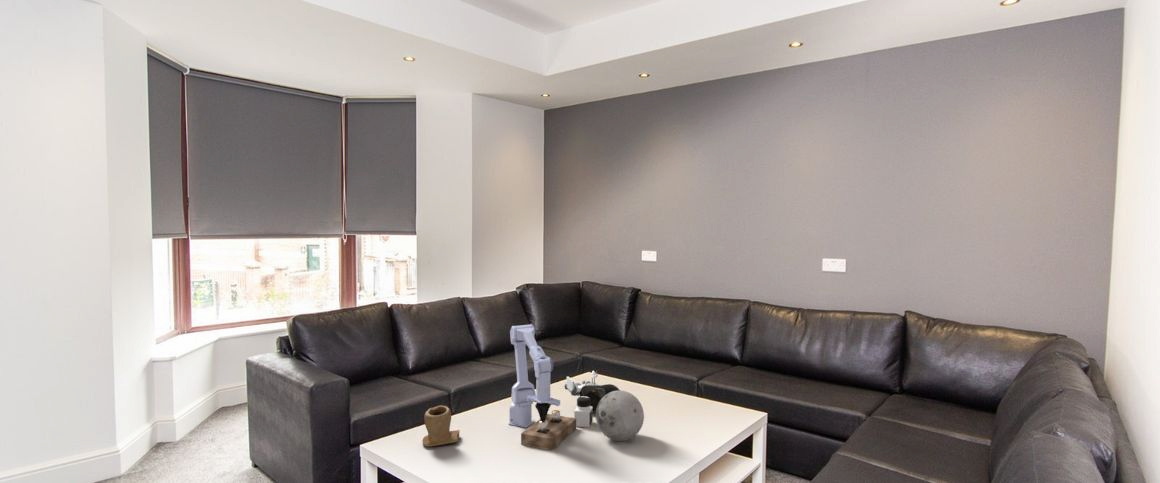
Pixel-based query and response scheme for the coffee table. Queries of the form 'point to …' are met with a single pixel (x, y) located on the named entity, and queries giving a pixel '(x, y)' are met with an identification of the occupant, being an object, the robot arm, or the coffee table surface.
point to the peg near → (543, 426)
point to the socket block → (548, 433)
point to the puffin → (596, 393)
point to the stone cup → (439, 427)
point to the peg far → (556, 416)
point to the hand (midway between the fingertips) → (543, 420)
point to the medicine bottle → (583, 412)
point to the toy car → (578, 384)
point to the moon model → (619, 415)
